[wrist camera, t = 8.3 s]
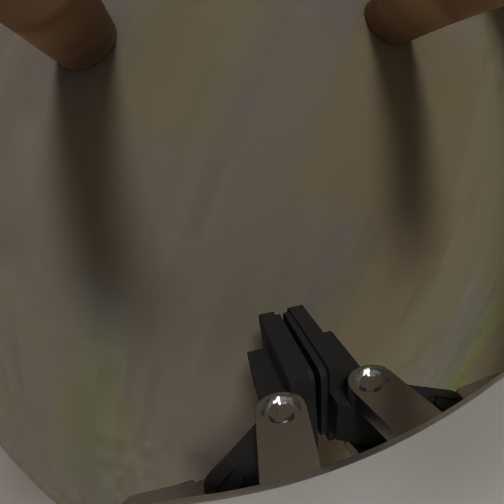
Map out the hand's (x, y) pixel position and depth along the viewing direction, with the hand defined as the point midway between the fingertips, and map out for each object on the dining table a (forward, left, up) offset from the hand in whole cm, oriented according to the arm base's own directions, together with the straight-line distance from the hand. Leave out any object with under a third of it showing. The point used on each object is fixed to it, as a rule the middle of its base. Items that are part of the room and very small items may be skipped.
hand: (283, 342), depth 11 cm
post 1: (+6, -13, -2) cm, 14 cm away
